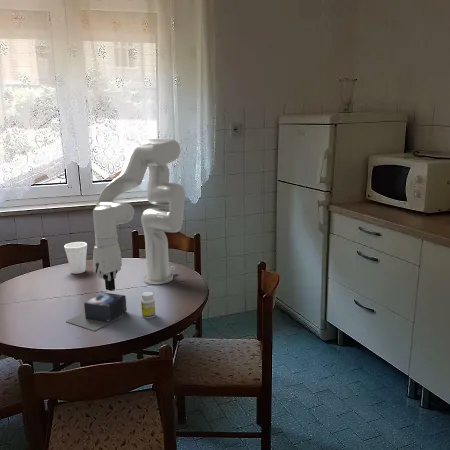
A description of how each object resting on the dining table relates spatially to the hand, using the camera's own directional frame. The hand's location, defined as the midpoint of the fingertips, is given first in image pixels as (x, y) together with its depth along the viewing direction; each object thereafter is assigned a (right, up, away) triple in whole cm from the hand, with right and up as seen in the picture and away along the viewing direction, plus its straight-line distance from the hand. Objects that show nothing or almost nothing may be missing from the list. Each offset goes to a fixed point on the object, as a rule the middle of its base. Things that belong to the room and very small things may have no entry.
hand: (110, 289), depth 160 cm
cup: (-26, +2, +43) cm, 50 cm away
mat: (-4, -10, -5) cm, 11 cm away
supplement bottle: (+15, -9, -3) cm, 17 cm away
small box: (+1, -4, +2) cm, 5 cm away
